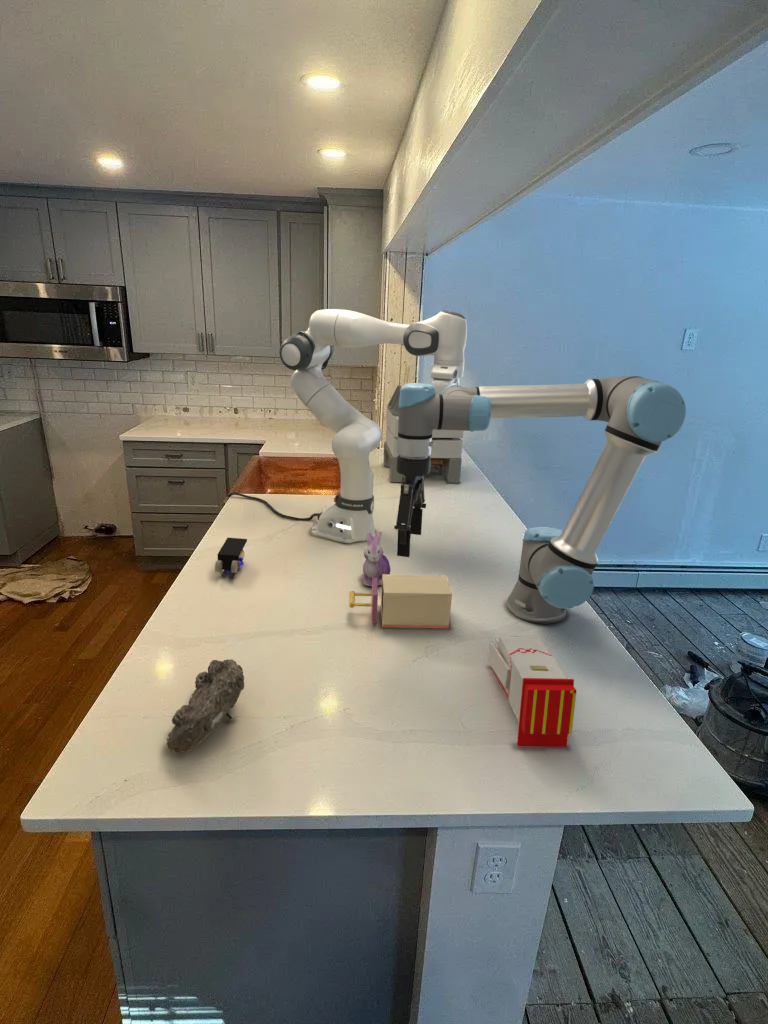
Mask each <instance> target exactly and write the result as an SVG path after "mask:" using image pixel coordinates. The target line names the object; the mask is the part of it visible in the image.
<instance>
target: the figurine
mask: <svg viewBox="0 0 768 1024" xmlns="http://www.w3.org/2000/svg"><path fill="white" fill-rule="evenodd" d="M382 536H383V532H382V530H379V531H378V532H376V535H375V537H372V535H371V533H370V532H367V534H366V538H367V540H366V545H365V548H364V550H363V556H364V559H365V560H364V562H363V564H362V577H361V580H362V581H363V585H364V586H368V587H372V578H377V587H378V586H382V574H391V565H390V560H389V559H388V557H387V556H386V555H385V554H384V550H383V547H382V546H381V541H382Z"/></svg>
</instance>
